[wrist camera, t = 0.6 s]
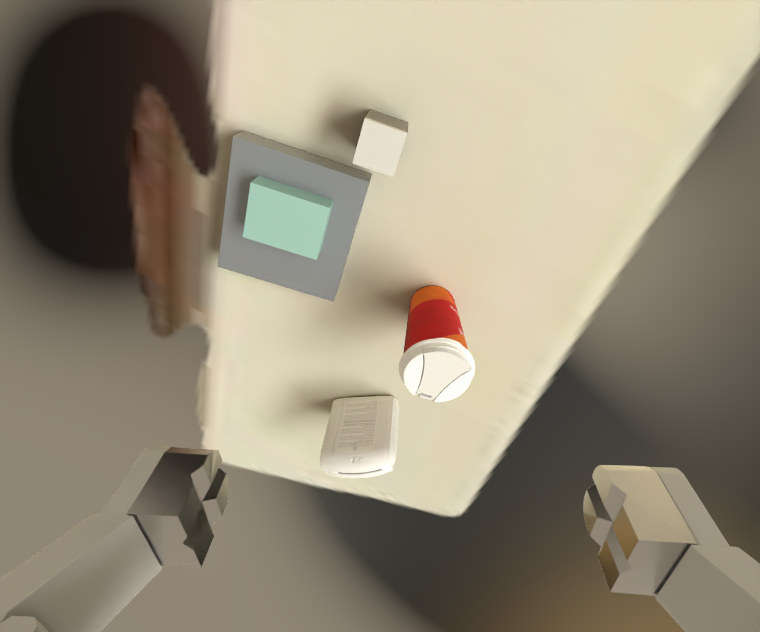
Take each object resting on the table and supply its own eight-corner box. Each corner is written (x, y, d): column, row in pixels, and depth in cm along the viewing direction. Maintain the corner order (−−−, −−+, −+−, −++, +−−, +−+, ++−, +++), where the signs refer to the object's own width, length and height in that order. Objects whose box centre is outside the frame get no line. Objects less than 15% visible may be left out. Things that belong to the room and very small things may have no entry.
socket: (243, 130, 44) (232, 135, 42) (371, 174, 46) (369, 181, 43) (227, 255, 52) (217, 266, 50) (337, 289, 54) (333, 301, 51)
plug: (370, 109, 42) (364, 118, 37) (408, 122, 43) (407, 133, 38) (359, 149, 45) (352, 163, 40) (395, 161, 45) (393, 177, 40)
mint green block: (258, 175, 44) (250, 182, 42) (333, 200, 45) (329, 208, 42) (250, 228, 47) (242, 237, 45) (320, 250, 48) (316, 260, 46)
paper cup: (446, 337, 57) (454, 414, 45) (392, 317, 56) (387, 391, 44) (474, 290, 53) (491, 361, 41) (417, 267, 52) (418, 335, 40)
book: (335, 417, 66) (320, 486, 56) (329, 396, 64) (312, 465, 54) (401, 412, 65) (398, 483, 55) (397, 391, 63) (393, 461, 52)
